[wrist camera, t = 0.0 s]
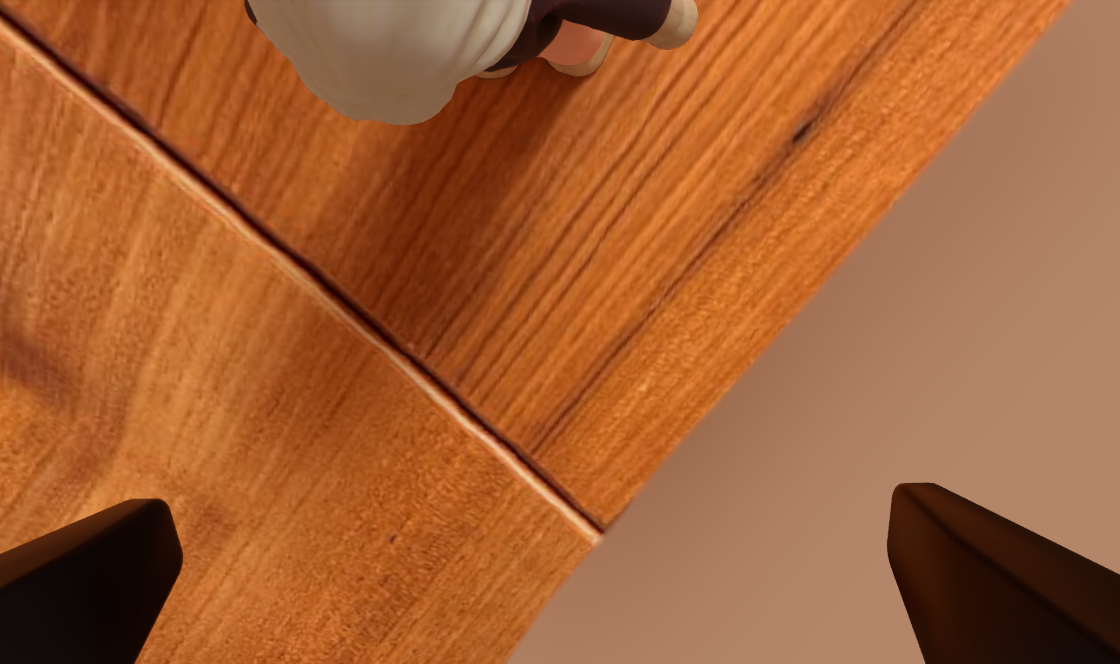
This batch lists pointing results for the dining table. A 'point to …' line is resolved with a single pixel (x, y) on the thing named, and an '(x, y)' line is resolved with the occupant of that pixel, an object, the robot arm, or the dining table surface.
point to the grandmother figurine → (449, 44)
